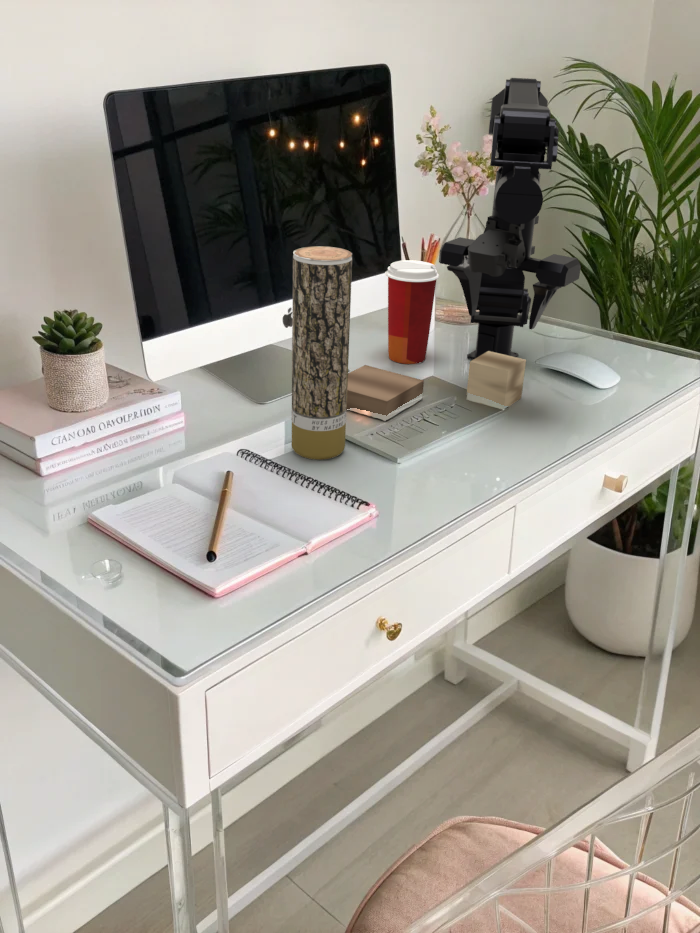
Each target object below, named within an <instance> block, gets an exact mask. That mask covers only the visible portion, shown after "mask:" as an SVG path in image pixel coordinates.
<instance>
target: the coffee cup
mask: <svg viewBox="0 0 700 933" xmlns="http://www.w3.org/2000/svg"><path fill="white" fill-rule="evenodd" d="M389 265H390V266H388V267H387V270H386V271H385V272H384V275H385V276H386V277H387V338H388V339H387V346H388V348H387V349H388V350H387V351H388V359H389V360H390V361H392V362H394V363H397V364H401V365H402V364H403V365H417V364H421V363H423V362H425V359H426V357H427V350H428V345H429V337H430V330H431V323H432V317H433V316H432V315H433V309H434V308H433V307H434V302H435V301H434V300H435V295H436V294H435V293H436V285H437V280H438V279H439V277H440V274H439V273H438V270H437V269H436V268H437V267H436V265H435V264H433V263H431V262H428V261H422V260H415V259H414V260H412V259H411V260H409V259H408V260H407V259H406V260H396V261H393V262H392V263H390V264H389Z"/></svg>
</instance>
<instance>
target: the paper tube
mask: <svg viewBox="0 0 700 933" xmlns="http://www.w3.org/2000/svg"><path fill="white" fill-rule="evenodd" d="M292 253H293V255H292V315H291V316H292V318H291V319H292V326H291V327H292V328H291V329H292V330H291V332H292V333H291V334H292V335H291V338H292V340H291V342H292V343H291V447H292V448H291V449H292V450H293V451H294V453H295V454H297V455H298V456H300V457H302V458H305V459H308V460H319V461H320V460H322V461H324V460H330V459H333V458H336V457H338V456H340V455H341V454H342V452H344V450H345V449H346V448H345V447H346V434H347V433H346V429H347V428H346V427H347V412H348V410H347V385H348V373H349V356H350V354H349V353H350V333H351V332H350V331H351V329H350V327H351V326H350V325H351V303H352V302H351V300H352V279H353V278H352V275H353V274H352V272H353V252H351V251H349V250H347V249H344V248H341V247H333V246H322V245H321V246H315V245H314V246H305V247H301V248H297V249H295V250H293V252H292Z"/></svg>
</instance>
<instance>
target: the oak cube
mask: <svg viewBox="0 0 700 933" xmlns="http://www.w3.org/2000/svg"><path fill="white" fill-rule="evenodd" d="M526 363H527V359H526V358H525V359H524V358H521V357H512V356H508V355H504V354H500V353H495V352H491V351H487V352H486V353H484V354H482V355H481V356H479V357H477V358H475V359H474V360H473V359H471V361H469V368H468V375H467V377H468V378H467V386H466V393H467V392H468V393H470V394H473V395H476V396H480V397H484V398H486V399H489V400H492V401H494V402H496V403H499V404H501V405H504V406H509V407H511V406H512V405H513V404H515V403H516V402H518V401H519V400H520V399H522V395H523V388H524V381H525V379H524V378H525V372H526Z"/></svg>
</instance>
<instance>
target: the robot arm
mask: <svg viewBox="0 0 700 933" xmlns="http://www.w3.org/2000/svg"><path fill="white" fill-rule="evenodd" d="M541 86H542V82H541V80H537V78H529V77H528V78H525V77H521V78H520V77H510V78H509V79H505V87H504V88H503V89H502V90H501V91H499V92H498V93H497V94H496V95H494V96H493V97H492V98H491V104H490V105H491V106H490V114H489V124H488V125H489V126H488V135H490V136H491V135H492V140H491V153H490V163H489V164H490V165H489V166H490V167H498V168H497V171H496V173H495V180H494V181H495V182H494V193H493V202H492V203H493V204H492V211H491V212H492V213H491V215H489V216H487V220H486V223H485V228H484V230H483V233H482V234H480V235H478V236H477V237H476V238H475V239H473V238H472V239H471V238H465V237H456V238H454V239H452V240H448V241H445V242H444V243H443V244H442V245H441V247H440V249H439V255H438V263H439V264H442V265H447V266H446V269H447V271H449V272H452V273H453V274H454V275H455V276H456V277H457V279H458V281H459V283H460V286H461V289H462V292H463V296H464V299H465V303H466V307H467V308H466V309H467V310H468V311H467V312H468V315H469V316H470V324H477V325H478V326H477V333H476V335H477V336H476V344H475V350H473V351H471V352H469V353H468V354H466V358H467V359H470V360H474V359H475V358H477V357H479V356H481V355H482V354H484V353H486V352H487V351H491V352H495V353H500V354H504V355H508V356H512V357H517V358H519V353H518V352H515V351H512V348H513V347H512V346H513V339H514V331H515V330H514V329H515V327H520V328H524V326H525V325H527V324H528V329H529V330H533V329H534V330H535V328H536V326H537V324H538V323H539V320H540V319H541V317H542V315H543V313H544V311H545V310H546V308H547V306H548V305H549V303H550V301H551V300H552V298H553V296H554V295H555V294H556V293H557V291H558V290H559V289H562V288H563V287H567V286H568V285H570V284H572V283H574V282H576V281H578V280H580V275H581V274H580V273H581V263H580V261H579V259H578V258H577V257H572V256H565V255H560V254H555V253H553V254H551V255H548V256H546V257H545V258H542V259H541V258H536V257H531V256H532V255H534V254H535V251H536V250H535V248H536V246H534V245H533V238H534V231H535V226H536V225H538V224H539V219H540V216H539V214H540V211H541V210H542V206H543V203H544V196H543V190H542V188H541V185H540V183H541V182H540V181H541V172H540V170H552V166H553V163H556V162H557V158H558V150H559V148H558V146H559V127H558V126H557V121H556V118H551V116H552V114H551V109H550V108H549V106H548V105H549V100H548V98H546V96H544V94H543V93H542V92H541ZM545 156H546V160H545ZM524 272H527V273H534V274H535V277H536V279H537V280H538V281H537V282H534V283H533V284H532V289H533V292H534V294H533V299H532V298H531V296H530V295H529V289H528V288H525V282H526V281H525V280H526V276H525V274H524ZM531 303H532V305H531ZM530 307H531V309H530ZM529 313H530V314H529ZM528 320H529V321H528Z"/></svg>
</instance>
